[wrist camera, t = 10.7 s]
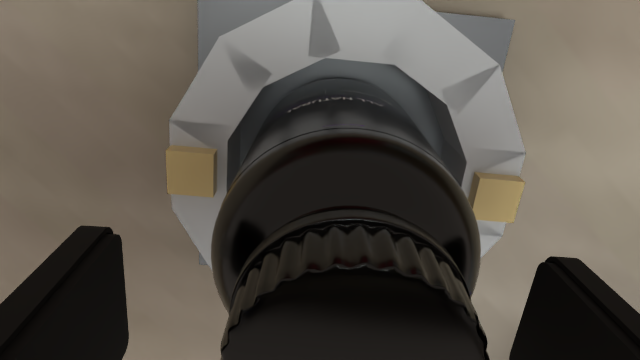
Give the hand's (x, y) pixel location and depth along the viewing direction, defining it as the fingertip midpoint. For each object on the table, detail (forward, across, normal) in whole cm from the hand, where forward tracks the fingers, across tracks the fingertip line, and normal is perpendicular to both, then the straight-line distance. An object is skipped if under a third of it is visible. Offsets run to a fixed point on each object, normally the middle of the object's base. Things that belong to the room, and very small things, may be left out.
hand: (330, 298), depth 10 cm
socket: (+10, -1, 0) cm, 11 cm away
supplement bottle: (+10, -1, 0) cm, 10 cm away
